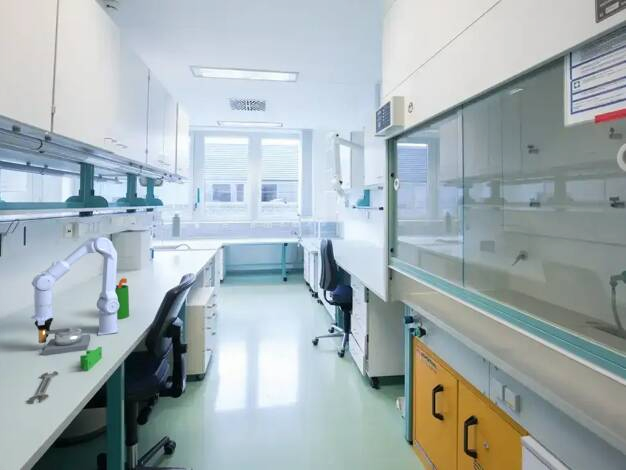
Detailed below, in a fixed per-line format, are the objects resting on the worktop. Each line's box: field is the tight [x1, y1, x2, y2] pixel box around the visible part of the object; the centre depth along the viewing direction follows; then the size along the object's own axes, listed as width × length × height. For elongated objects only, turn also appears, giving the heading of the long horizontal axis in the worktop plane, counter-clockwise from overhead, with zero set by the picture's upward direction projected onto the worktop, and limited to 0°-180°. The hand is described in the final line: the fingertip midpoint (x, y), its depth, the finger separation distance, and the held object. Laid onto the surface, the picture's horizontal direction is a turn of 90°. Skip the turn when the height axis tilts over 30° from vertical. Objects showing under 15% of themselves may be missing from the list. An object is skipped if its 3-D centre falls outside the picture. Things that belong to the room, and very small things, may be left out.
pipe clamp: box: [79, 346, 103, 372], centre depth 129 cm, size 11×4×5 cm, turn 9°
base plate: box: [43, 333, 91, 357], centre depth 144 cm, size 13×14×2 cm
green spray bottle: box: [115, 277, 130, 320], centre depth 184 cm, size 10×9×20 cm
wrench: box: [28, 370, 59, 405], centre depth 112 cm, size 5×20×1 cm, turn 27°
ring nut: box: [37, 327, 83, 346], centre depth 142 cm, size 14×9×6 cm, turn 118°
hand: (44, 337), depth 143 cm, fingers closed
